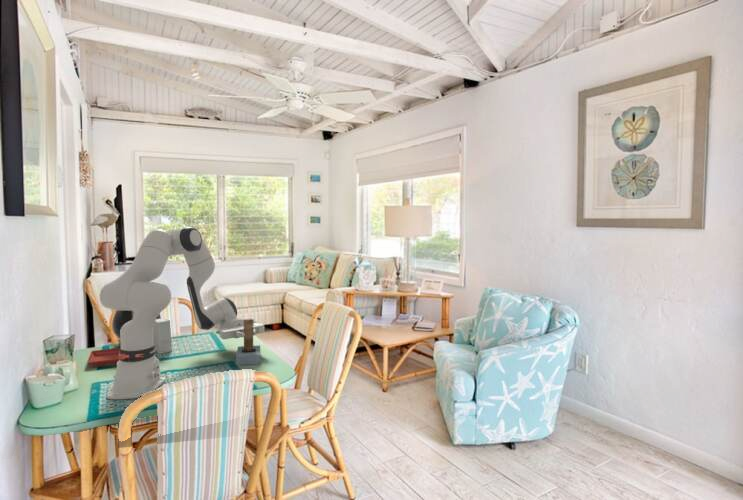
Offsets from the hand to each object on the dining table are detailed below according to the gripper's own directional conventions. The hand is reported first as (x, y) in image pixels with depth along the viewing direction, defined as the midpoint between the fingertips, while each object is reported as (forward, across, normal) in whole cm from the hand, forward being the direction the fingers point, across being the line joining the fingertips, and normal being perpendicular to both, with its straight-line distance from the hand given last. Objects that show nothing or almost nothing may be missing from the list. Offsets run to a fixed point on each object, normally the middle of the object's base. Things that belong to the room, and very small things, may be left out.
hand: (249, 334), depth 200 cm
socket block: (-1, 0, +12) cm, 12 cm away
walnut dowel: (-1, 0, +10) cm, 10 cm away
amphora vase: (-57, -32, +12) cm, 66 cm away
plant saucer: (-37, -47, +12) cm, 61 cm away
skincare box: (-38, -26, +12) cm, 47 cm away
